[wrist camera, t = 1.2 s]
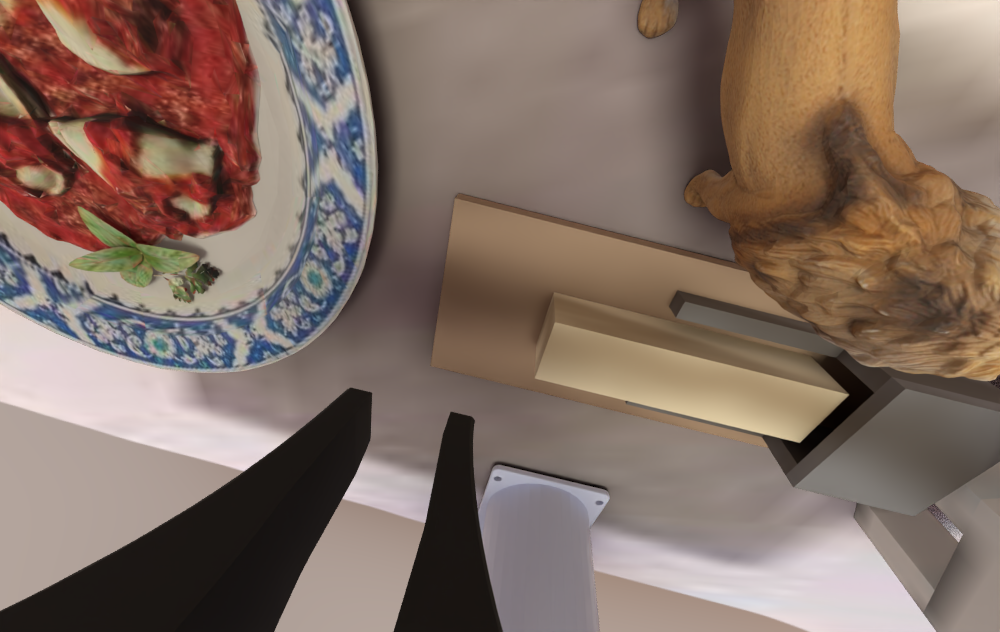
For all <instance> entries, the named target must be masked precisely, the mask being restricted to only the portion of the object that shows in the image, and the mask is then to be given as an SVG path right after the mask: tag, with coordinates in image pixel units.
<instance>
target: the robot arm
mask: <svg viewBox="0 0 1000 632" xmlns="http://www.w3.org/2000/svg"><path fill="white" fill-rule="evenodd" d="M371 408H372V393H371V392H367V391H363V390H359V389H354V388H349V389H347V390H346V391H345V392H344V393H343V394H341V395H340V396H339V397H338V398H337V399H336V400H335V401H334V402H332V403H331V404H330V405H329V406H328V407H327V408H325V409H324V410H323V411H322V412H321V413H320V414H318V415H317V416H316V417H315V418H313V419H312V420H311V421H310V422H309V423H307V424H306V425H305V426H304V427H302V428H301V429H300V430H299V431H297V432H296V433H295V434H294V435H292V436H291V437H290V438H289V439H287V440H286V441H285V442H284V443H282V444H281V445H280V446H278V447H277V448H276V449H274V450H273V451H272V452H270V453H269V454H268V455H266V456H265V457H263V458H262V459H261V460H259V461H258V462H257V463H255V464H254V465H252V466H251V467H250V468H248V469H247V470H246V471H244V472H243V473H241V474H240V475H239V476H237V477H236V478H234V479H233V480H231V481H230V482H228V483H227V484H225V485H224V486H222V487H221V488H219V489H218V490H216V491H215V492H213V493H212V494H210V495H209V496H207V497H206V498H204V499H202V500H201V501H199V502H198V503H196V504H195V505H193V506H192V507H190V508H188V509H187V510H185V511H183V512H182V513H180V514H179V515H177V516H175V517H174V518H172V519H170V520H168V521H167V522H165V523H163V524H162V525H160V526H159V527H157V528H155V529H154V530H152V531H150V532H148V533H147V534H145V535H143V536H142V537H140V538H138V539H137V540H135V541H133V542H131V543H129V544H128V545H126V546H124V547H122V548H120V549H119V550H117V551H115V552H113V553H111V554H110V555H107V556H106V557H104V558H102V559H100V560H98V561H96V562H94V563H92V564H91V565H89V566H87V567H85V568H83V569H82V570H79V571H78V572H76V573H74V574H72V575H70V576H68V577H66V578H64V579H63V580H61V581H59V582H57V583H55V584H53V585H51V586H50V587H48V588H46V589H44V590H42V591H40V592H38V593H36V594H34V595H32V596H30V597H28V598H26V599H24V600H22V601H20V602H18V603H16V604H14V605H12V606H10V607H8V608H5V609H3V610H1V611H0V632H274V631H275V628H276V626H277V624H278V622H279V619H280V617H281V615H282V613H283V611H284V609H285V606H286V604H287V602H288V600H289V598H290V596H291V593H292V591H293V589H294V587H295V585H296V583H297V580H298V578H299V576H300V574H301V572H302V570H303V568H304V566H305V564H306V563H307V561H308V559H309V557H310V555H311V553H312V551H313V549H314V548H315V546H316V544H317V542H318V541H319V539H320V537H321V535H322V534H323V532H324V530H325V528H326V526H327V524H328V523H329V521H330V519H331V517H332V516H333V514H334V512H335V510H336V509H337V507H338V505H339V503H340V501H341V500H342V498H343V496H344V494H345V492H346V491H347V489H348V487H349V485H350V483H351V482H352V480H353V478H354V476H355V474H356V472H357V470H358V468H359V465H360V463H361V461H362V458H363V456H364V454H365V451H366V449H367V446H368V444H369V442H370V438H371ZM474 423H475V420H474V419H473V418H472V417H471V416H467V415H463V414H458V413H454V412H451V413H450V415H449V418H448V421H447V424H446V427H445V430H444V433H443V438H442V443H441V448H440V453H439V458H438V463H437V468H436V473H435V478H434V483H433V488H432V493H431V498H430V503H429V508H428V513H427V519H426V523H425V527H424V531H423V534H422V538H421V541H420V544H419V548H418V551H417V555H416V558H415V562H414V565H413V569H412V572H411V575H410V578H409V582H408V585H407V588H406V592H405V595H404V598H403V602H402V605H401V609H400V612H399V615H398V619H397V622H396V625H395V629H394V632H600V629H599V619H598V609H597V598H596V588H595V578H594V567H593V557H592V547H591V536H590V527H591V526H592V524H593V523H594V521H595V520H596V518H597V517H598V516H599V514H600V513H601V511H602V510H603V508H604V507H605V505H606V504H607V502H608V501H609V499H610V497H609V493H608V491H606V490H604V489H600V488H596V487H591V486H587V485H583V484H579V483H575V482H570V481H566V480H562V479H558V478H554V477H549V476H545V475H541V474H537V473H533V472H528V471H524V470H520V469H516V468H512V467H507V466H503V465H496V466H494V467H493V468H492V471H491V474H490V477H489V480H488V483H487V486H486V489H485V492H484V495H483V498H482V501H481V504H480V507H479V510H478V508H477V501H476V491H475V481H474V468H473V431H474Z"/></svg>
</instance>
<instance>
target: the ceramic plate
mask: <svg viewBox="0 0 1000 632" xmlns="http://www.w3.org/2000/svg"><path fill="white" fill-rule="evenodd" d="M377 188H378V158H377V143H376V128H375V121H374V115H373V108H372V101H371V95H370V88H369V83H368V78H367V74H366V70H365V65H364V61H363V57H362V52H361V48H360V44H359V39H358V36H357V32H356V29H355V26H354V23H353V19H352V16H351V13H350V10H349V6H348V3H347V0H0V304H1V305H3V306H5V307H6V308H8V309H10V310H11V311H13V312H15V313H17V314H19V315H20V316H22V317H24V318H26V319H28V320H30V321H32V322H34V323H36V324H38V325H40V326H42V327H44V328H46V329H48V330H50V331H52V332H54V333H56V334H59V335H61V336H64V337H66V338H68V339H71V340H73V341H76V342H78V343H81V344H83V345H85V346H88V347H90V348H93V349H95V350H98V351H100V352H104V353H107V354H110V355H113V356H117V357H120V358H123V359H127V360H130V361H133V362H137V363H141V364H145V365H149V366H153V367H156V368H160V369H168V370H176V371H187V372H198V373H224V372H237V371H245V370H249V369H254V368H258V367H261V366H265V365H268V364H271V363H275V362H277V361H279V360H281V359H283V358H286V357H288V356H290V355H292V354H294V353H296V352H298V351H299V350H301V349H302V348H304V347H306V346H307V345H309V344H310V343H311V342H312V341H313V340H315V339H316V338H317V337H318V336H320V335H321V334H322V333H323V332H324V331H325V330H326V329H327V328H328V327H329V325H330V324H331V323H332V322H333V321H334V320H335V319H336V318H337V316H338V315H339V313H340V312H341V310H342V309H343V307H344V306H345V304H346V303H347V301H348V300H349V298H350V296H351V294H352V292H353V290H354V288H355V286H356V284H357V282H358V280H359V278H360V276H361V274H362V272H363V269H364V265H365V262H366V258H367V254H368V250H369V246H370V242H371V238H372V234H373V230H374V222H375V214H376V206H377Z"/></svg>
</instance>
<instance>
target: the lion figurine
mask: <svg viewBox="0 0 1000 632" xmlns="http://www.w3.org/2000/svg"><path fill="white" fill-rule="evenodd" d="M677 15H678V0H643V1H642V3H641V7H640V10H639V14H638V28H639V31H640V32H641V33H642V34H643V35H644V36H645V37H647V38H654V37H657V36H660V35H662V34H664V33H665V32H667V31H668V30H670V29H671V28H672V27H673V26H674V24H675V22H676V19H677ZM899 38H900V32H899V23H898V14H897V0H734V13H733V22H732V28H731V33H730V37H729V42H728V46H727V51H726V57H725V62H724V68H723V73H722V79H721V90H720V103H721V119H722V126H723V131H724V136H725V141H726V145H727V149H728V153H729V159H730V164H731V167H732V170H731V171H730V172H728V173H727V174H726V175H725V176H724V177H721V176H720V175H719V174H718V173H717V172H715V171H713V170H706V171H705V172H703V173H701V174H699V175H697V176H695V177H694V178H693V179H692V180H691V182H690V183H689V184H688V186H687V187H686V189H685V193H684V198H685V201H686V202H687V203H689V204H691V205H692V206H694V207H706V206H707V208H708V210H709V211H710V213H711V214H712V215H713V216H714V217H715V218H717V219H719V220H721V221H724V222H728V223H730V226H731V227H730V229H729V235H730V238H731V241H732V248H733V250H734V252H735V261H736V263H737V264H738V265H739V266H741V267H743V268H744V269H746V270H747V271H748V272H749V274H750V277H751V280H752V281H753V282H754V283H755V284H756V285H757V286H758V287H759V288H760V289H762V290H763V291H764V292H765V294H767V295H768V296H769V297H771V298H772V299H774V300H775V301H776V302H778V304H779V305H780V306H781V307H782V308H783V309H784V310H786V311H788V312H789V313H791V314H793V315H795V316H797V317H799V318H801V319H803V320H805V321H807V322H808V323H810V325H811V326H812V327H813V329H814V330H815V332H816V333H817V335H819V336H820V337H821V338H823V339H824V340H826V341H828V342H830V343H832V344H834V345H836V346H838V347H840V348H843V349H845V350H846V351H847V352H848V353H849V354H850V356H851V357H853V358H854V359H855V360H856V361H857V362H859V363H860V364H863V365H865V366H868V367H888V366H889V367H891V368H893V369H895V370H898V371H902V372H906V373H911V374H933V375H937V376H941V377H945V378H955V377H960V376H963V377H966V378H969V379H974V380H980V381H992V380H995V379H996V378H997V376H998V375H1000V209H999V208H998V207H997V206H995V205H994V204H993V202H992V201H991V199H990V198H988V197H986V196H984V195H981V194H978V193H975V192H971V191H967V190H962V189H961V188H960V187H959V186H958V185H957V184H956V183H955V182H954V181H953V180H952V179H951V178H949V177H948V176H947V175H945V174H943V173H941V172H939V171H937V170H936V169H935V168H933V167H931V166H928V165H926V164H923V163H921V162H918V161H917V160H916V159H915V157H914V155H913V153H912V151H911V149H910V148H909V147H908V145H907V144H906V143H905V142H904V140H903V139H902V138H901V136H899V135H898V134H896V133H895V131H894V113H893V102H894V95H895V88H896V79H897V66H898V52H899Z"/></svg>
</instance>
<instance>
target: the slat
mask: <svg viewBox="0 0 1000 632" xmlns="http://www.w3.org/2000/svg"><path fill="white" fill-rule="evenodd" d="M535 379H539V380H543V381H547V382H552V383H556V384H560V385H564V386H568V387H572V388H576V389H580V390H584V391H589V392H593V393H597V394H601V395H605V396H609V397H613V398H617V399H621V400H626V401H630V402H634V403H638V404H642V405H646V406H650V407H654V408H658V409H663V410H667V411H671V412H675V413H679V414H683V415H687V416H691V417H695V418H700V419H704V420H708V421H712V422H716V423H720V424H724V425H728V426H732V427H737V428H741V429H745V430H749V431H753V432H757V433H761V434H765V435H769V436H774V437H778V438H782V439H786V440H790V441H794V442H798V443H800V442H801V441H802V440H803V439H804V438H805V437H806V436H807V435H808V434H809V433H810V432H811V431H812V430H814V429H815V428H816V427H817V426H818V425H819V424H820V423H821V422H822V421H823V420H824V419H825V418H826V417H827V416H828V415H829V414H830V413H831V412H832V411H833V410H834V409H835V408H836V407H837V406H838V405H839V404H840V403H841V402H842V401H843V400H845V399H846V398H847V397H848V396H849V394H848V393H847V392H846V391H845V390H844V389H843V388H842V387H841V386H840V385H839V384H838V383H837V382H836V381H835V380H834V379H833V378H832V377H831V376H830V375H829V374H828V373H827V372H826V371H825V370H824V369H823V368H822V367H821V366H820V365H819V364H818V363H817V362H816V361H815V360H814V359H813V358H812V357H811V356H809V355H805V354H801V353H797V352H793V351H789V350H785V349H781V348H777V347H773V346H769V345H765V344H761V343H757V342H753V341H749V340H745V339H740V338H736V337H732V336H728V335H724V334H720V333H716V332H712V331H708V330H704V329H700V328H696V327H692V326H688V325H684V324H680V323H676V322H672V321H668V320H664V319H660V318H656V317H652V316H648V315H644V314H640V313H636V312H632V311H628V310H624V309H620V308H616V307H612V306H608V305H603V304H599V303H595V302H591V301H587V300H583V299H579V298H575V297H571V296H567V295H563V294H559V293H555V292H554V294H553V297H552V300H551V303H550V306H549V308H548V311H547V314H546V317H545V320H544V323H543V326H542V329H541V332H540V335H539V338H538V341H537V344H536V360H535Z"/></svg>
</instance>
